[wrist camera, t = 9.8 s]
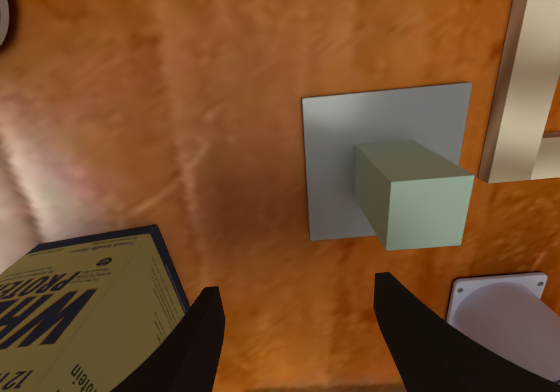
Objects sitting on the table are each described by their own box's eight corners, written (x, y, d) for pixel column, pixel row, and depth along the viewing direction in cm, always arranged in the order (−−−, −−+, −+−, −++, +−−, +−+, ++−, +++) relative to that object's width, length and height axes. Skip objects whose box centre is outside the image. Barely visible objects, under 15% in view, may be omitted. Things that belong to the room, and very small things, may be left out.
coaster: (444, 225, 24) (448, 229, 24) (309, 236, 25) (310, 240, 24) (466, 81, 20) (472, 82, 19) (301, 97, 20) (302, 98, 20)
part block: (407, 192, 22) (460, 244, 16) (354, 196, 22) (386, 250, 16) (413, 140, 21) (474, 175, 14) (355, 144, 21) (391, 182, 14)
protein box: (156, 220, 24) (-17, 455, 10) (211, 352, 30) (154, 612, 16) (34, 241, 24) (-299, 492, 10) (112, 367, 31) (-26, 629, 17)
